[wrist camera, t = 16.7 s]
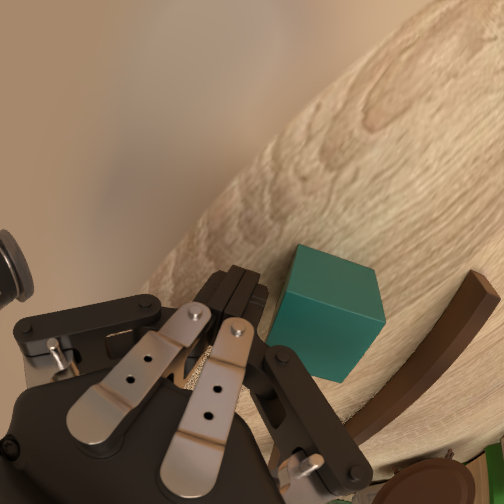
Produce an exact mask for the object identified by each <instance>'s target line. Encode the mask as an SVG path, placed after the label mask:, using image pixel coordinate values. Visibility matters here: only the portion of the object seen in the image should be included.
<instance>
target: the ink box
mask: <svg viewBox="0 0 504 504" xmlns="http://www.w3.org/2000/svg"><path fill="white" fill-rule="evenodd" d="M501 445H502V451H503V457H504V437H503V438H502V439H501Z"/></svg>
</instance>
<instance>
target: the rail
mask: <svg viewBox="0 0 504 504" xmlns="http://www.w3.org/2000/svg"><path fill="white" fill-rule="evenodd" d="M500 300H501V298H500V296H499V295H498V294H497V292H496V291H495V289H494V288H493V287H492V285H491V284H490V283H489V281H488V280H487V279H486V277H485V276H483V275H481V274H479V273H477V272H475V271H473V270H470V272H469V274H468V276H467V277H466V279H465V281H464V282H463V284H462V286H461V287H460V289H459V291H458V292H457V294H456V296H455V297H454V299H453V300H452V302H451V303H450V305H449V306H448V308H447V309H446V311H445V312H444V314H443V315H442V317H441V318H440V320H439V321H438V322H437V324H436V325H435V327H434V328H433V329H432V331H431V332H430V333H429V335H428V336H427V337H426V339H425V340H424V341H423V343H422V344H421V345H420V346H419V348H418V349H417V350H416V351H415V353H414V354H413V355H412V356H411V357H410V359H409V360H408V361H407V362H406V363H405V364H404V366H403V367H402V368H401V369H400V370H399V371H398V372H397V374H396V375H395V376H394V377H393V378H392V379H391V380H390V381H389V382H388V383H387V384H386V385H385V386H384V387H383V389H382V390H381V391H380V392H379V393H378V394H377V395H376V396H375V397H374V398H373V399H372V400H371V401H370V402H369V403H367V404H366V405H365V406H364V407H363V408H362V409H361V410H360V411H359V412H358V413H357V414H356V415H355V416H354V417H352V418H351V419H350V420H349V421H348V422H347V423H346V424H344V427H345V428H346V430H347V431H348V433H349V434H350V436H351V437H352V439H353V440H354V442H355V443H356V445H357V446H359V445H361V444H362V443H364V442H365V441H366V440H368V439H369V438H371V437H372V436H373V435H375V434H376V433H377V432H379V431H380V430H381V429H383V428H384V427H385V426H386V425H388V424H389V423H390V422H392V421H393V420H394V419H395V418H396V417H398V416H399V415H400V414H401V413H402V412H404V411H405V410H406V409H407V408H408V407H409V406H410V405H412V404H413V403H414V402H415V401H416V400H417V399H418V398H419V397H420V396H421V395H422V394H424V393H425V392H426V391H427V390H428V389H429V388H430V387H431V386H432V385H433V384H434V383H435V382H436V381H437V380H438V379H439V378H440V377H441V376H442V374H443V373H444V372H445V371H446V370H447V369H448V368H449V367H450V366H451V365H452V364H453V362H454V361H455V360H456V359H457V358H458V357H459V356H460V354H461V353H462V352H463V351H464V350H465V348H466V347H467V346H468V345H469V344H470V342H471V341H472V340H473V338H474V337H475V336H476V335H477V333H478V332H479V331H480V329H481V328H482V327H483V325H484V324H485V322H486V321H487V320H488V318H489V317H490V315H491V314H492V312H493V311H494V309H495V308H496V306H497V305H498V303H499V302H500ZM273 479H274V481H275V483H276V485H277V487H278V489H279V490H280V480H279V478H274V477H273Z"/></svg>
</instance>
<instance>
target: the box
mask: <svg viewBox="0 0 504 504" xmlns="http://www.w3.org/2000/svg"><path fill="white" fill-rule="evenodd" d="M326 504H352V502H347V501H342V500H337V499H335V500H332V501H330V502H328V503H326Z"/></svg>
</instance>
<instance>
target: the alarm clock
mask: <svg viewBox="0 0 504 504" xmlns="http://www.w3.org/2000/svg"><path fill="white" fill-rule="evenodd" d="M450 452H452V449H448V453H447V455H446V456H445V458H433V459H427V460H423V461H420V462H417V463H415V464H412V465H410V466H408V467H406V468H405V469H403V470H401V471H399V470H398V469H397V468H396V466H393V467H392V469H393V470H394V471H395V472H394V476H393V477H392V478H391V479H389V480H388V481H387V482H386V483H385V484H384V485H383V487H382V488H381V489H380V490H379V492H378V493H377V494H376V496H375V498H374V499H373V501H372V504H474V500H475V494H476V488H475V481H474V478H473V475H472V474H471V472H470V470H469V469H468V468H467V467H466V466H465V465H463V464H462V463H460V462H458V461H456V460H452V456H454V453H453V452H452V453H450ZM449 455H450V457H449Z"/></svg>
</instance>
